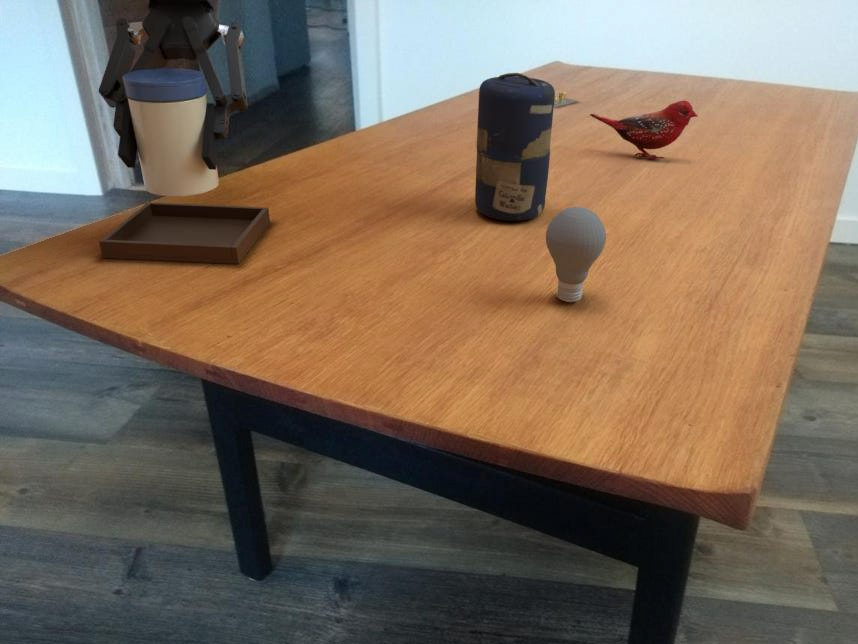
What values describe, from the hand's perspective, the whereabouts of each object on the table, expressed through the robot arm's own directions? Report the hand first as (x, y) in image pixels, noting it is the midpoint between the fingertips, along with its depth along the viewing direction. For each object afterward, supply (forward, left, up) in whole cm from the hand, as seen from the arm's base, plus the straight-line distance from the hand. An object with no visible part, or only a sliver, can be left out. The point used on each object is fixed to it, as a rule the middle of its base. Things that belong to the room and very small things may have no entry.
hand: (167, 162), depth 81 cm
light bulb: (+44, -9, -10) cm, 46 cm away
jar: (0, +3, -4) cm, 5 cm away
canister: (+38, +17, -10) cm, 43 cm away
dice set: (+48, +91, -10) cm, 104 cm away
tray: (0, +3, -10) cm, 11 cm away
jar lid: (0, +3, +8) cm, 9 cm away
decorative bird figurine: (+60, +48, -10) cm, 77 cm away
